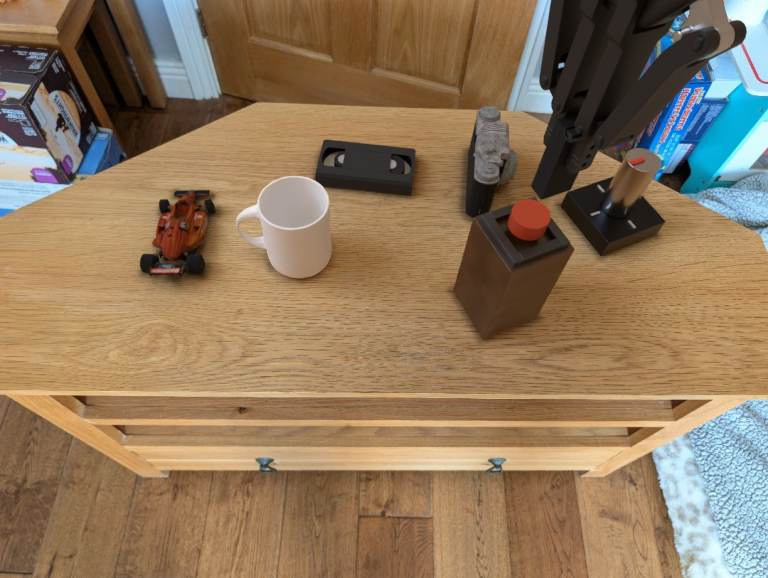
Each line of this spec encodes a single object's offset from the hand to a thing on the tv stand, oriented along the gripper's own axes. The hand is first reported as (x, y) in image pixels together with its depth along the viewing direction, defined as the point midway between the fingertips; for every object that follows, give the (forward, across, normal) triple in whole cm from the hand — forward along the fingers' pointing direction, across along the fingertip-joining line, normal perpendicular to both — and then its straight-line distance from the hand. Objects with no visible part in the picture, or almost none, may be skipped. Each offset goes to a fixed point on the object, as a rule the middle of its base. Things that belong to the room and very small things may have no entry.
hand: (550, 188), depth 43 cm
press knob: (+14, -6, +6) cm, 17 cm away
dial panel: (+30, -12, +29) cm, 44 cm away
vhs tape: (+31, -34, 0) cm, 46 cm away
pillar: (+30, -6, +6) cm, 32 cm away
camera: (+31, -25, +16) cm, 43 cm away
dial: (+27, -12, +29) cm, 42 cm away
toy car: (+31, -32, -28) cm, 52 cm away
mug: (+31, -24, -16) cm, 42 cm away
